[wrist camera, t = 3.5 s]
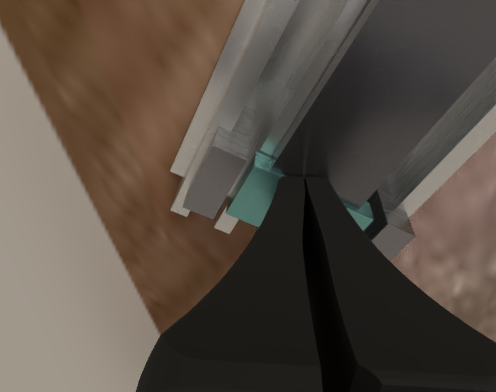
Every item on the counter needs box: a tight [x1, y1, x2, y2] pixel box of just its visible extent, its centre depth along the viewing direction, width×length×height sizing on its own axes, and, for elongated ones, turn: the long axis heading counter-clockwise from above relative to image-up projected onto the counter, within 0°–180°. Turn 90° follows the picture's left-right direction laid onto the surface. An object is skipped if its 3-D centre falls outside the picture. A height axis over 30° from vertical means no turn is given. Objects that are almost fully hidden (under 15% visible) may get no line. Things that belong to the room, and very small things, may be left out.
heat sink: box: [170, 0, 496, 261], centre depth 11 cm, size 13×8×5 cm, turn 154°
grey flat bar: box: [226, 0, 496, 231], centre depth 10 cm, size 11×4×1 cm, turn 154°
